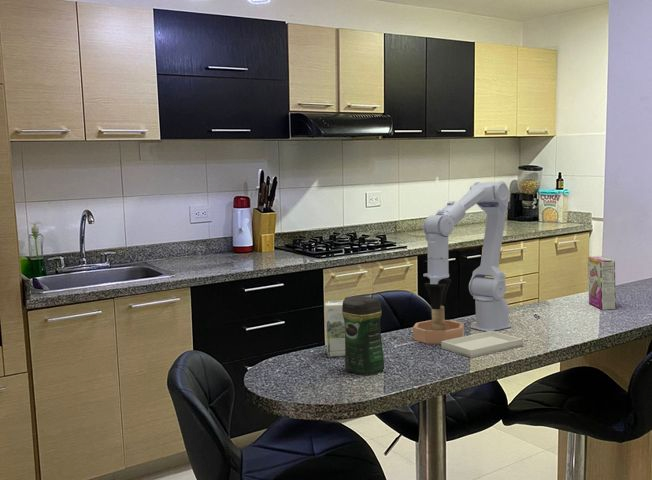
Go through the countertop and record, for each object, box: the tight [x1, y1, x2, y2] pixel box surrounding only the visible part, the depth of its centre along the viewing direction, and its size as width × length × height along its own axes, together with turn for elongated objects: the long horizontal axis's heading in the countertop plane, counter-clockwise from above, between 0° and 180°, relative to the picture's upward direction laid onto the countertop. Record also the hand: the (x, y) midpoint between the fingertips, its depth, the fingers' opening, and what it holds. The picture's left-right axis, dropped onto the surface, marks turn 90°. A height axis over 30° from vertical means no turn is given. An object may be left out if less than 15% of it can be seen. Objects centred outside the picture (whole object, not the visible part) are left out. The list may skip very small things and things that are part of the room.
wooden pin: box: [431, 305, 446, 331], centre depth 187 cm, size 4×4×9 cm
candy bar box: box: [587, 255, 617, 311], centre depth 215 cm, size 11×5×16 cm, turn 179°
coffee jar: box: [342, 295, 385, 376], centre depth 158 cm, size 10×8×19 cm
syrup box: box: [324, 299, 345, 358], centre depth 174 cm, size 6×6×14 cm
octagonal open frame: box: [412, 319, 465, 345], centre depth 187 cm, size 14×14×4 cm
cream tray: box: [441, 330, 524, 359], centre depth 174 cm, size 18×12×2 cm, turn 118°
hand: (438, 306), depth 180 cm, fingers open, 7 cm apart
